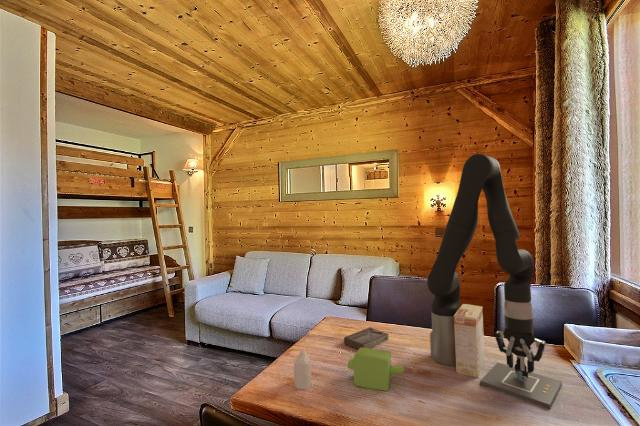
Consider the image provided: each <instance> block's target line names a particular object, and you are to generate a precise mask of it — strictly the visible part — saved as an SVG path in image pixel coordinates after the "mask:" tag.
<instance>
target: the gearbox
mask: <svg viewBox="0 0 640 426" xmlns="http://www.w3.org/2000/svg"><path fill="white" fill-rule="evenodd" d="M391 357H392V356H391V351H389V350H382V349H377V348H370V349H369V348H359V350H357V351H356V352H355V354H354V356H351V357H350V359H349V360H348V362H347V368H348V369H350V370H352V371H353V385H355V386H358V387H361V388H366V389H367V388H368V389H373V390H379V391H388V390H389V388H390V384H391V377H392V376H394V375H398V374H399V375H400V374H404V373H405V368H404V366H403V365H397V366H396V365H395V366H392V363H391V362H392V360H391Z"/></svg>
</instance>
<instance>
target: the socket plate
mask: <svg viewBox="0 0 640 426" xmlns="http://www.w3.org/2000/svg"><path fill="white" fill-rule="evenodd" d="M526 371H527V372H528V370H526ZM515 375H516V374H515V366H513V367H512V368H510V367H509V365H507V364H504V363H500V362H497V363H496V364H495V365H493V367H492V368H491V369H489V371H488V372H487V373H485V375H484V376H482V378H481V379H480V381H479V383H480V384H479V385H481V386H483V387H487V388H489V389H492V390H495V391H498V392H499V393H503V394H507V395H509V396H513V397H515V398H518V399H520V400H524V401H526V402H529V403H532V404H534V405H537V406H541V407H543V408H546V409H549V410H551V409H552V406H553V404H554V403H555V400H556V398H557V396H558V394H559V392H560V390H561V389H562V386H563V381H562V380H558V379H557V378H556V379H555V378H552V377H548V376H546V375H542V374H538V373H534V372H531V374H530V373H528V378H527V382H526V381H525V382H524V381H521V380H520V379H519V378H518V377H517V375H516V376H515Z"/></svg>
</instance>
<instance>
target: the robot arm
mask: <svg viewBox="0 0 640 426" xmlns="http://www.w3.org/2000/svg"><path fill="white" fill-rule="evenodd" d="M462 167H463V168H462V171H461V175H460V179H459V185H458V189H457V193H456V196H455V198H454V199H455V200H454V202H453V206H452V208H451V212H450V214H449V217H448V219H447V223H446V225H445V229H444V233H443V236H442V240H441V242H440V246H439V250H438V252H437V256H436V258H435V261H434V264H433V265H432V268H431V270H430V272H429V274H428V276H427V280H426V281H427V282H426V284H427V289H428V290H429V292H430V293H431V294H432V295H433V296H434V298H433V301H432V303H431V306H430V309H431V310H430V311H431V331H430V332H429V342H430V358H431V359H432V360H434V361H435V362H437V363H439V364H441V365H447V366H453V365H455V366H456V351H455V329H454V315H455V313H456V312H457V311H458V310H459V308H460V304H461V285H460V284H461V282H460V278H459V276H458V274H457V272H456V270H457V267H458V264H459V262H460V260H461V258H463V256H464V254H465V253H466V251H467V249H468V248H469V246H470V244H471V242H472V240H473V238H474V235H475V232H476V230H477V228H478V227H477V226H478V223H479V199H480V196H481V194H482V193H481V192H483V194H484V196H485V201H486V211H487V220H488V223H489V226H490V227H489V228H490V229H491V232H492V235H493V238H494V241H495V243H494V244H495V255H496V260H497V264H498V266H499V267H500V269H501V270H502V271H503V272H505V273H506V274H509V277H508V279H507V280H506V281H505V282H504V287H503V291H504V292H503V293H504V302H503V303H504V304H503V312H504V313H503V314H504V315H503V316H504V330H503V331H501V330H496V332H494V339H495V340H496V344H497V346H498V347H497V348H498V350H499V352H501V353H503V354H505V356H506V365H508V366H509V367H510V368H512V367H514V354H513V353H512V352H511V351H512V348H514V347H519V348H521V349H524V352H525V354H526V356H527V357H526V358H527V360H526V364H527V365H526V367H527V370H526V371H528V373H530V374H531V372H532V373H534V371H535V362H540V360H541V359H542V357H543V354H544V351H545V348H546V345H547V342H546V341H545V340H541V339H538V338H536V336H535V334H534V312H533V311H534V310H533V305H532V292H531V291H532V290H531V285H532V282H533V277H534V270H535V261H534V258H533V256H532V254H531V253H530V252H529V251H527V250H526V249H522V248H520V249H519V248H518V244H517V241H518V240H520V232H519V229H518V226H517V224H516V221H515V219H514V215H513V214H512V211H511V208H510V205H509V201H508V199H507V194H506V190H505V187H504V181H503V176H502V170H501V165H500V162H499V161H498V160H497V159H496V158H495V157H493V156H489V155H486V154H482V153H476V154H473V155H470V156H469V157H468V158H467V159H466V161H465V163H463V166H462ZM504 338H505V339H506V340H507V342H508V344H507V346H506V344H505V340H504ZM534 343H535V346H536V348H537V350H536V353H535V354H534V351H533V347H532V344H534Z"/></svg>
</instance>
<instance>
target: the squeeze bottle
mask: <svg viewBox="0 0 640 426" xmlns="http://www.w3.org/2000/svg"><path fill="white" fill-rule="evenodd" d="M293 378H294V381H293V382H294V383H293V384H294V387H295V388H296V389H297V390H302V391H303V390H307V389H309V388H310V387H311V385H312V362H311V360H310V357H309V356H308V355H307V352H306V349H305V348H304V347H303V348H302V349H301V350H300V351H299V353H298V355H297V357H296V359H295V360H294V363H293Z"/></svg>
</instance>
